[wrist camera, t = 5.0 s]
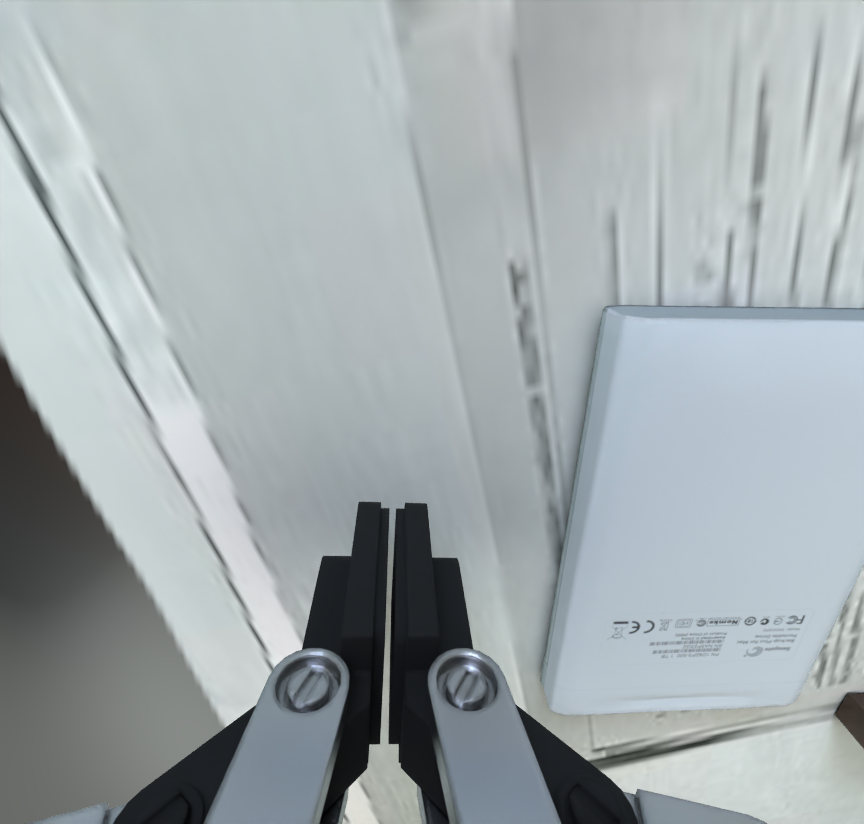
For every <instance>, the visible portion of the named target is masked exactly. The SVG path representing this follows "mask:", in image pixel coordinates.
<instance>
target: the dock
mask: <svg viewBox="0 0 864 824" xmlns="http://www.w3.org/2000/svg"><path fill="white" fill-rule="evenodd" d="M835 715H836V717H837V718H838V719H839V720H840V721H841V722H842V724H843V725H844V726H845V727H846V728H847V730H848V731H849V732H850V733H851V734H852V735H853V737H854V738H855V739H856V740H857V741H858V743H859V744H860V745H861V746H862V747H863V748H864V693H857V694H847V696H846V697H845V699H844V701H843V702H842V704H841V706H840V707H839V709H838V711H837V712H836V714H835Z"/></svg>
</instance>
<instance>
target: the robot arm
mask: <svg viewBox="0 0 864 824" xmlns="http://www.w3.org/2000/svg"><path fill="white" fill-rule="evenodd" d="M388 532H389V508H381V502H359V504H358V511H357V519H356V526H355V533H354V541H353V548H352V555H351V556H323V557H322V561H321V565H320V569H319V574H318V578H317V583H316V588H315V592H314V597H313V601H312V606H311V611H310V615H309V620H308V624H307V629H306V634H305V638H304V643H303V647H302V650H300V651H296V652H294V653H293V654H291V655H289V656H287V657H285V658H284V659H283V660H282V661H281V662H280V663H279V664H278V665H276V666H275V668H274V670H273V671H272V673H271V674H270V676H269V678H268V680H267V682H266V684H265V687H264V689H263V691H262V693H261V696H260V698H259V700H258V702H257V705H255V706H254V707H253V708H251V709H250V710H249V711H247V712H246V713H245V714H243V715H242V716H241V717H239V718H238V719H237V720H235V721H234V722H233V723H231V724H230V725H229V726H227V727H226V728H224V729H223V730H222V731H221V732H219V733H218V734H216V735H215V736H214V737H213V738H211V739H210V740H208V741H207V742H206V743H204V744H203V745H202V746H200V747H199V748H198V749H196V750H195V751H194V752H192V753H191V754H190V755H188V756H187V757H186V758H184V759H183V760H181V761H180V762H179V763H178V764H176V765H175V766H174V767H172V768H171V769H169V770H168V771H167V772H166V773H164V774H163V775H161V776H160V777H159V778H157V779H156V780H155V781H153V782H152V783H151V784H149V785H148V786H147V787H145V788H144V789H142V790H141V791H140V792H139V793H138V794H137V795H136V796H135V797H134V798H133V799H131V800H130V801H129V802H128V803H127V804H126V805H122V806H118V807H115V808H111V809H109V805H108V803H103V804H100V805H96V806H92V807H88V808H84V809H80V810H76V811H73V812H69V813H65V814H61V815H58V816H53V817H50V818H46V819H42V820H39V821H34V822H31V823H27V824H342V822H343V817H344V813H345V808H346V803H347V799H348V788H349V786H350V785H351V784H352V783H353V782H354V781H355V780H356V779H357V778H358V777H359V776H360V775H361V774H362V773H363V772H364V771H365V770H366V769H367V763H368V757H369V744H380V730H381V710H382V689H383V668H384V647H385V622H386V592H387V562H388ZM389 744H399V763H401V768H402V769H403V770H404V771H405V772H406V773H407V774H408V776H409V777H410V778H411V779H412V780H413V781H414V782H415V783H416V784H417V797H418V803H419V809H420V816H421V822H422V824H767V823H765V822H764V821H762V820H759V819H757V818H754V817H752V816H750V815H747V814H742V813H738V812H734V811H730V810H725V809H721V808H717V807H713V806H708V805H704V804H700V803H696V802H691V801H687V800H683V799H679V798H674V797H670V796H666V795H662V794H658V793H653V792H649V791H645V790H641V789H637V792H636V794H635V795H634V794H630V793H626V792H623V791H622V790H621V789H620V788H619V787H618V786H617V785H616V784H615V783H614V782H613V781H612V780H611V779H610V778H608V777H607V776H606V775H605V774H603V773H602V772H601V771H599V770H598V769H597V768H596V767H594V766H593V765H592V764H591V763H589V762H588V761H587V760H585V759H584V758H583V757H582V756H580V755H579V754H578V753H577V752H575V751H574V750H573V749H571V748H570V747H569V746H568V745H566V744H565V743H564V742H563V741H561V740H560V739H559V738H558V737H556V736H555V735H554V734H552V733H551V732H550V731H549V730H547V729H546V728H545V727H544V726H542V725H541V724H540V723H538V722H537V721H536V720H535V719H533V718H532V717H531V716H530V715H528V714H527V713H526V712H525V711H523V710H522V709H521V708H519V707H518V706H517V705H516V704H515V702H514V700H513V697H512V695H511V692H510V689H509V687H508V684H507V682H506V679H505V676H504V674H503V673H502V671H501V669H500V667H499V666H498V665H497V664H496V663H495V662H494V661H493V660H492V659H491V658H490V657H489V656H487V655H485V654H483V653H482V652H480V651H476V650H473V646H472V640H471V633H470V627H469V621H468V615H467V609H466V603H465V597H464V591H463V585H462V579H461V573H460V567H459V562H458V559H457V558H432V553H431V542H430V531H429V520H428V509H427V504H425V503H405V509H396V522H395V541H394V560H393V579H392V599H391V644H390V693H389Z"/></svg>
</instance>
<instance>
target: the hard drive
mask: <svg viewBox="0 0 864 824" xmlns="http://www.w3.org/2000/svg"><path fill="white" fill-rule="evenodd" d="M863 566H864V308H777V307H708V306H638V305H618V306H607V307H605V308H604V309H603V312H602V318H601V324H600V331H599V336H598V343H597V349H596V355H595V361H594V367H593V372H592V377H591V385H590V391H589V396H588V401H587V407H586V414H585V421H584V426H583V432H582V438H581V444H580V450H579V456H578V461H577V467H576V474H575V480H574V485H573V490H572V497H571V502H570V508H569V515H568V522H567V528H566V534H565V538H564V545H563V550H562V557H561V563H560V569H559V574H558V581H557V586H556V593H555V598H554V605H553V612H552V617H551V622H550V629H549V635H548V640H547V646H546V653H545V657H544V661H543V668H542V674H541V678H540V681H541V683H542V685H543V689H544V693H545V696H546V699H547V702H548V707H549V709H550V711H552V712H554V713H558V714H561V715H566V716H573V715H596V714H617V713H634V712H654V711H683V710H709V709H733V708H756V707H778V706H786V705H789V704H791V703H793V702H795V701H796V699H797V698H798V695H799V694H800V692H801V690H802V688H803V686H804V684H805V682H806V680H807V678H808V675H809V672H810V670H811V669H812V667H813V665H814V663H815V661H816V659H817V657H818V655H819V653H820V651H821V649H822V647H823V645H824V643H825V641H826V639H827V638H828V636H829V634H830V632H831V630H832V628H833V626H834V624H835V622H836V620H837V618H838V616H839V613H840V611H841V609H842V607H843V606H844V604H845V602H846V600H847V598H848V596H849V594H850V592H851V590H852V588H853V586H854V584H855V582H856V580H857V578H858V576H859V574H860V572H861V570H862V568H863Z"/></svg>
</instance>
